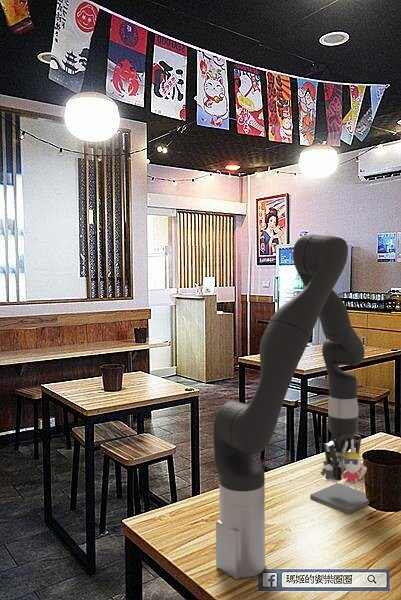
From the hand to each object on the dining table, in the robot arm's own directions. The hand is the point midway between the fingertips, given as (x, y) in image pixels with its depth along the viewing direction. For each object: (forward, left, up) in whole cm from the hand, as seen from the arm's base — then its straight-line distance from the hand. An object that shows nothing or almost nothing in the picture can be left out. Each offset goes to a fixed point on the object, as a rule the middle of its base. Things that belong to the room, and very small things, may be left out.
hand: (343, 477), depth 134 cm
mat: (0, 0, -6) cm, 6 cm away
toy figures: (0, 0, -2) cm, 2 cm away
